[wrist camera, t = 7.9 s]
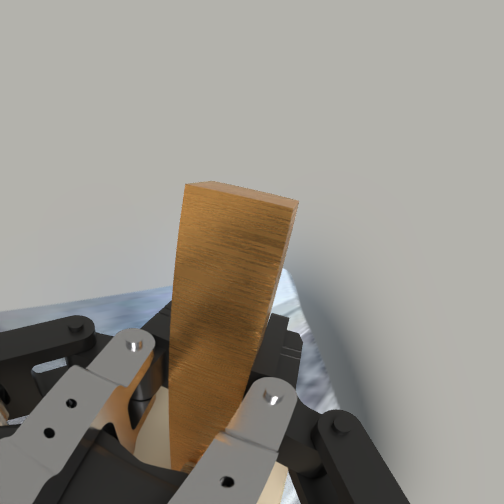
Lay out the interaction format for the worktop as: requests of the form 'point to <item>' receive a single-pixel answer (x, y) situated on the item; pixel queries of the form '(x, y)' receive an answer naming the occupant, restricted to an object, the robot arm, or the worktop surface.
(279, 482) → the rail board
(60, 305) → the worktop surface
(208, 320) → the upright wooden paddle
